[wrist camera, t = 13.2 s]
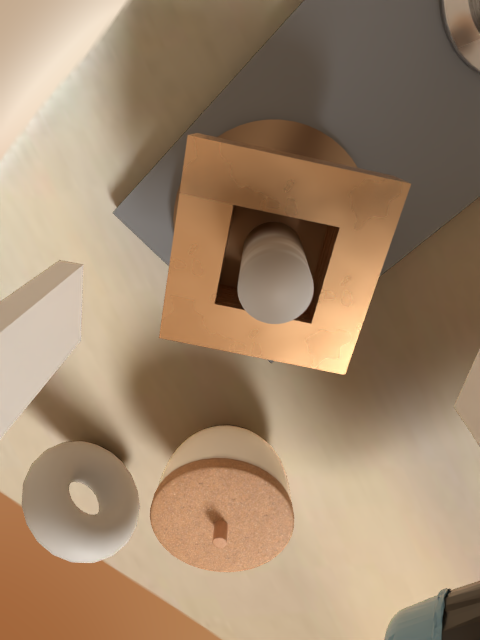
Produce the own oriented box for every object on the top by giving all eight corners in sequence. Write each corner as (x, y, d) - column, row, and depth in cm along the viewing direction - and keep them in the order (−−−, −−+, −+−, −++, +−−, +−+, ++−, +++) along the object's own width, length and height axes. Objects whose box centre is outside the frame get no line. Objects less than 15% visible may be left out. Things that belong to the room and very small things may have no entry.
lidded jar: (312, 437, 39) (325, 526, 31) (250, 513, 43) (247, 611, 35) (203, 382, 38) (186, 460, 29) (149, 467, 42) (120, 558, 33)
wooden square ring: (393, 175, 23) (411, 183, 20) (336, 348, 27) (344, 375, 24) (196, 132, 22) (187, 134, 20) (169, 314, 26) (158, 337, 24)
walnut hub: (395, 143, 28) (488, 162, 17) (336, 327, 34) (375, 439, 22) (191, 98, 28) (138, 85, 16) (164, 292, 33) (110, 387, 21)
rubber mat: (574, -297, 21) (591, -319, 20) (716, -5, 25) (736, -10, 24) (117, 209, 32) (112, 212, 31) (270, 355, 36) (271, 363, 35)
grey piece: (48, 435, 41) (-14, 527, 31) (69, 412, 39) (11, 501, 30) (136, 495, 43) (102, 596, 34) (158, 475, 42) (129, 574, 33)
